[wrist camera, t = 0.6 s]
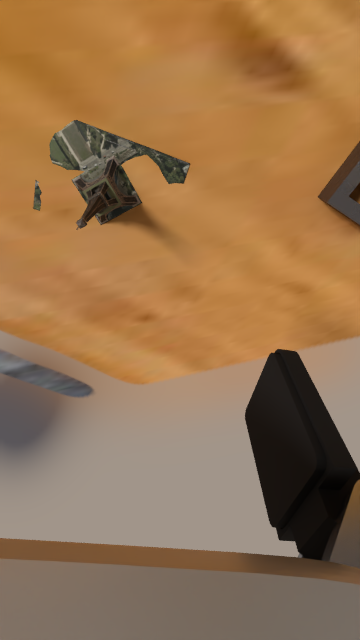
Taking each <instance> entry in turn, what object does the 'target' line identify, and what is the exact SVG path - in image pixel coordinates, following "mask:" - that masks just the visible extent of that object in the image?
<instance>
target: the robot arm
mask: <svg viewBox="0 0 360 640" xmlns="http://www.w3.org/2000/svg"><path fill="white" fill-rule="evenodd" d="M245 420H246V424H247V429H248V433H249V437H250V441H251V445H252V450H253V454H254V458H255V463H256V467H257V471H258V475H259V480H260V484H261V488H262V492H263V497H264V501H265V505H266V509H267V513H268V518H269V521H270V524H271V525H272V527H275V528H276V530H277V534H278V538H279V540H283V541H295V542H296V545H297V549H298V552H299V556H298V558H296V557H285V556H273V555H261V554H248V553H236V552H221V551H205V550H188V549H173V548H158V547H141V546H125V545H108V544H91V543H74V542H57V541H40V540H22V539H4V538H0V640H360V473H359V471H358V469H357V467H356V465H355V463H354V461H353V459H352V457H351V455H350V453H349V451H348V449H347V447H346V445H345V443H344V441H343V439H342V438H341V436H340V434H339V432H338V430H337V428H336V426H335V424H334V422H333V420H332V419H331V417H330V414H329V413H328V411H327V409H326V407H325V405H324V403H323V401H322V399H321V397H320V395H319V393H318V391H317V389H316V387H315V385H314V383H313V382H312V380H311V378H310V376H309V374H308V372H307V370H306V368H305V366H304V364H303V362H302V360H301V359H300V356H299V355H298V353H297V352H295V351H290V350H282V349H277V350H276V351H275V353H271V354H270V355H269V357H268V359H267V361H266V364H265V366H264V369H263V371H262V373H261V376H260V378H259V380H258V383H257V385H256V387H255V390H254V392H253V394H252V397H251V399H250V401H249V404H248V406H247V408H246V413H245Z"/></svg>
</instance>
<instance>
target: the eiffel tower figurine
mask: <svg viewBox="0 0 360 640" xmlns="http://www.w3.org/2000/svg"><path fill="white" fill-rule="evenodd" d="M50 153H51V154H50V158H51V160H52V163H53V164H56V165H59V166H61V167H63V168H65V169H67V170H81V171H85V172H84V173H82V174H80V175H79V176H77V177H76V178H74V179H72V181H73V183H74V185H75V186H76V188H77V189H78V191H79V192H80V194H81V195H82V197H83V198H84V200H85V201H86V203H87V204H88V206H87V208H86V210H85V212H84V214H83V216H82V217H81V219H80V220H78V221H77V225H78V228H80V229H81V228H83V227H85V226H86V225H87V222H88V221H89V220H90V219H91V218H92V217H93V216H94V215H95V217H96V218H97V220H98V221H99V223H100V224H101V225H102V224H104V223H106V222H108V221H110V220H111V219H113V218H115V217H117V216H119V215H121V214H122V213H124V212H126V211H128V210H130V209H132V208H134V207H135V206H137V205H139V204H141V203H142V202H141V200H140V198H139V196H138V195H137V193H136V191H135V189H134V187H133V186H132V184H131V182H130V180H129V178H128V177H127V175H126V173H125V171H124V169H123V168H122V166H121V164H123V163H124V162H125V161H127V160H130V159H132V158H134V157H137V156H142V155H148V156H149V157H150V158H151V159H152V160H153V161H154V162H155V163H156V164H157V165H158V166H159V168H160V170H161V172H162V174H163V176H164V177H165V179H166V180H167V182H168V184H172V183H183V184H184V181H185V178H186V174H187V171H188V168H189V165H190V163H187V162H185V161H182V160H179V159H177V158H174V157H172V156H169V155H167V154H164V153H162V152H159V151H156V150H154V149H151V148H149V147H146V146H143V145H140V144H138V143H135V142H132V141H130V140H127V139H124V138H122V137H119V136H116V135H114V134H111V133H109V132H106V131H103V130H101V129H98V128H96V127H93V126H90V125H88V124H85V123H83V122H80V121H78V120H74V121H72V122H71V123H69V124H68V125H67V126H65V127H64V128H63V129H62V130H61V131H59V132H57V133H55V134H54V136H53V138H52V140H51V142H50ZM37 183H39V182H38V181H37V180H36V183H35V196H34V207H33V209H36V210H39V211H40V206H41V200H40V195H41V193H42V192H41V190H40V188H39V186H38V184H37ZM78 228H77V229H78ZM77 229H76V230H77Z"/></svg>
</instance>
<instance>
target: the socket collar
mask: <svg viewBox="0 0 360 640" xmlns="http://www.w3.org/2000/svg"><path fill="white" fill-rule="evenodd" d="M359 183H360V142H359V143H358V144H357V146H356V147H355V148H354V150H353V151H352V152H351V154H350V155H349V156H348V157H347V159H346V160H345V161H344V163H343V164H342V165H341V167H340V168H339V169H338V171H337V172H336V173H335V175H334V176H333V177H332V179H331V180H330V181H329V183H328V184H327V185H326V187H325V188H324V189H323V191H322V192H321V193H320V195H319V196H318V197H319V198H320V199H322V200H323V201H325V202H326V203H327V204H329V205H330V206H332V207H333V208H335V209H336V210H338V211H339V212H341V213H342V214H344V215H345V216H347V217H348V218H350V219H351V220H353V221H354V222H356V223H357V224H359V225H360V204H359V203H357V202H356V201H354V200H353V199H352V198H350V197H349V195H350V194H351V193H352V192H353V190H354V189H355V188H356V187H357V185H358V184H359Z"/></svg>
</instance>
